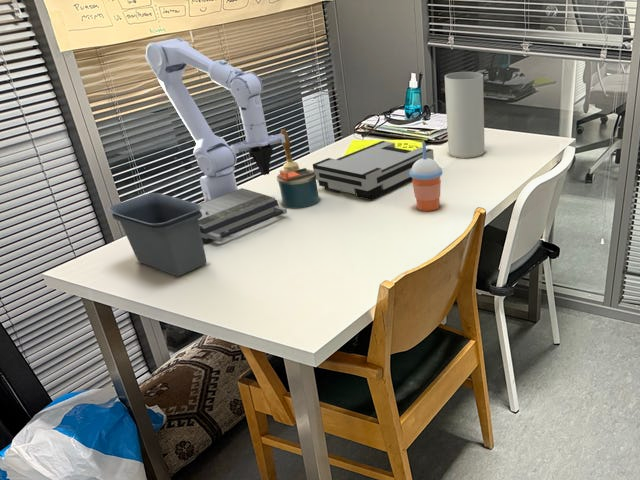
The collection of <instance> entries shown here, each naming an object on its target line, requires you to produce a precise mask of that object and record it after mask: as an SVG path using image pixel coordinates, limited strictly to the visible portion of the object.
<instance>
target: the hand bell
mask: <svg viewBox="0 0 640 480" xmlns="http://www.w3.org/2000/svg"><path fill="white" fill-rule="evenodd" d="M280 134H282V135H284V137H285V143H281V145H282V148H283V150H284V152H285V158H286V162H285V163H284V164H283V171H285V172H286V171H290V170H296V169H300V166H299V164H298V162H296V161H294V159H293V156H292V153H291V139H290V136H289V134H288V132H287V130H286V128H282V129H280Z"/></svg>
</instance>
